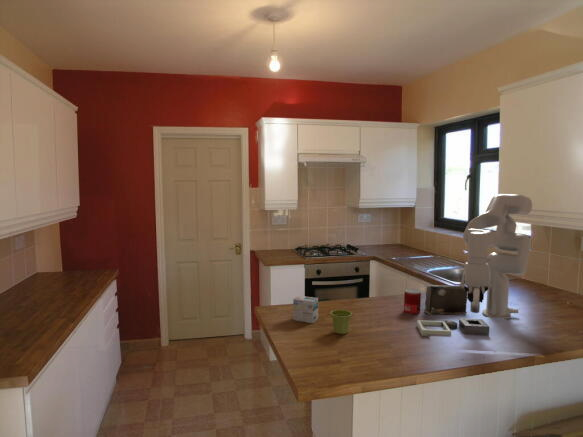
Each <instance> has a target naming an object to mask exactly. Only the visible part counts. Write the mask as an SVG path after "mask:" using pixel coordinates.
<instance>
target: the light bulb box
mask: <svg viewBox="0 0 583 437" xmlns="http://www.w3.org/2000/svg"><path fill="white" fill-rule="evenodd" d="M292 299H293V300H292V303H293V304H292V314H293V315H292V316H293V317H292V320H293V321H297V322H303V323H308V324H314V323H316V322H317V320H319V297H313V296H311V297H310V296H304V295H297V296H296V297H294V298H292Z"/></svg>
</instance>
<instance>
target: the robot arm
mask: <svg viewBox="0 0 583 437" xmlns="http://www.w3.org/2000/svg"><path fill="white" fill-rule="evenodd" d="M532 208H533V202H532V199H531V198H530V197H528V196H525V195H522V194H515V193H514V194H513V193H510V194H509V193H499V194H495V195H494V196H492V198H491V200H490V201H489V204H488V206H487V208H486V210H485V212H484V213H481V214H479V215H478V216H476V217H474V218H473V219H470V221H469V222H468V223H467V225H466V228H465V229H464V231H463V234H462V238H463V240H462V241H463V242H464V243H465V244H467V261H465V263H464V266H463V274H462V280H461V281H460V283H459V285H458V286H461V287H462V288H464V289H465V290H466V291H467V301H469V303H471V302H472V295H473V294H472V292H471V291H472V286H474V287H480V303H483V301H484V297H485V295H484V294H485V293H486V309H485V308H484V309H483V310H482V314H483V316H485V317H486V318H487V317H488V318H497V319H498V318H499V319H504V320H508V319H511V317H512V314H519V309H516V308H512V307H509V295H510V294H509V292H510V281H509V278H508V276H507V275H506V274H509V275H517V276H523V275H524V274H525V273H527V272H526V271H527V269H528V264H529V257H530V253H531V245H532V241H531V237H530V236H529V235H527V234H524V233H519V232H517V233H516V229H517V223H516V221H515V220H514V218H513V217H512V215H526V216H527V215H529V214H530V213H531V211H532V210H533V209H532ZM492 227H496V229H495V231H494V230H491V229H488V228H492ZM488 248H494V249H495V250H497V251H501V252H491V253H488ZM505 252H507V253H505ZM511 253H515V254H511ZM465 285H466V286H465Z"/></svg>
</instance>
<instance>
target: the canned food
mask: <svg viewBox="0 0 583 437" xmlns="http://www.w3.org/2000/svg"><path fill="white" fill-rule="evenodd" d="M421 295H422V291H421V290H419V289H416V288H406V289H405V290H404V297H403V298H404V300H403V311H404V312H405V313H406V314H410V315H417V314H420V313H421V301H422V300H421V299H422V296H421Z"/></svg>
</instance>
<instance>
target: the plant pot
mask: <svg viewBox="0 0 583 437" xmlns="http://www.w3.org/2000/svg"><path fill="white" fill-rule="evenodd" d="M330 315H331V319H332V326H333V333H336V334H340V335H345V334H347V333H349V326H350V320H351V318H352V317H351V316H352V315H353V313H352V312H351V311H349V310H345V309H335V310H331V311H330Z"/></svg>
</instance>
